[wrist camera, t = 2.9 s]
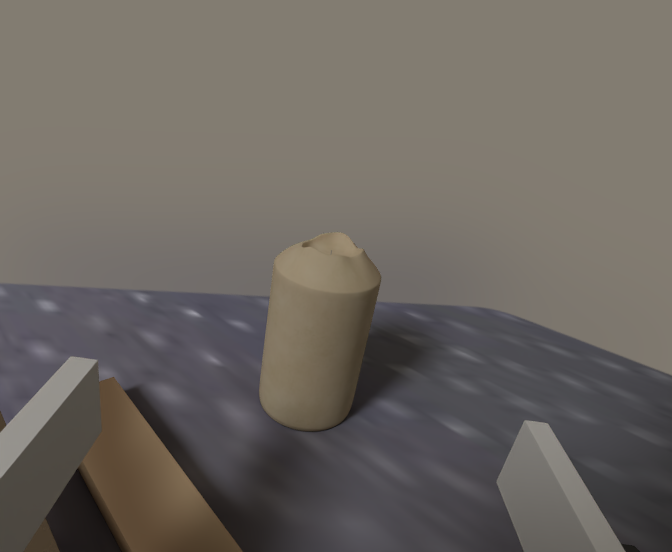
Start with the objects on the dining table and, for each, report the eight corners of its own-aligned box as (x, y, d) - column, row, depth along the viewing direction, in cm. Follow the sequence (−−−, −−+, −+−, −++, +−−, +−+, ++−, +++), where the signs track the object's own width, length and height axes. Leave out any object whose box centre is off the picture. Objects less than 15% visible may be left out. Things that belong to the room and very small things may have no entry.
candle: (281, 359, 29) (301, 214, 25) (361, 386, 28) (396, 239, 24) (240, 411, 24) (257, 242, 20) (335, 447, 23) (373, 275, 19)
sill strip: (114, 394, 24) (113, 376, 23) (241, 573, 17) (244, 553, 16) (50, 417, 22) (48, 398, 21) (165, 633, 15) (165, 612, 14)
